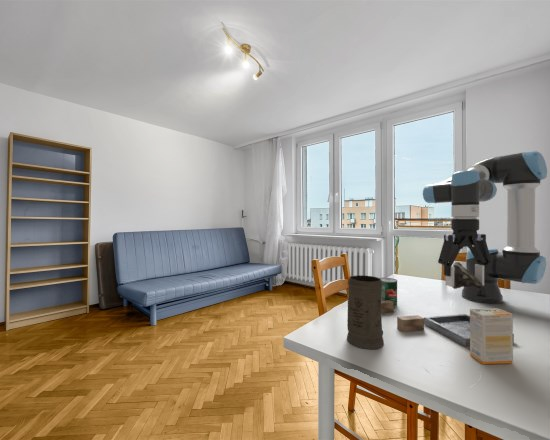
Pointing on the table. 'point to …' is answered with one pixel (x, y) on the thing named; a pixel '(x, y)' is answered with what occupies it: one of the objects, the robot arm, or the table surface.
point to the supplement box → (491, 336)
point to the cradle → (403, 318)
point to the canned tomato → (389, 290)
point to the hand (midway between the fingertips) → (464, 285)
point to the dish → (452, 327)
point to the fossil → (464, 278)
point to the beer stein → (365, 312)
